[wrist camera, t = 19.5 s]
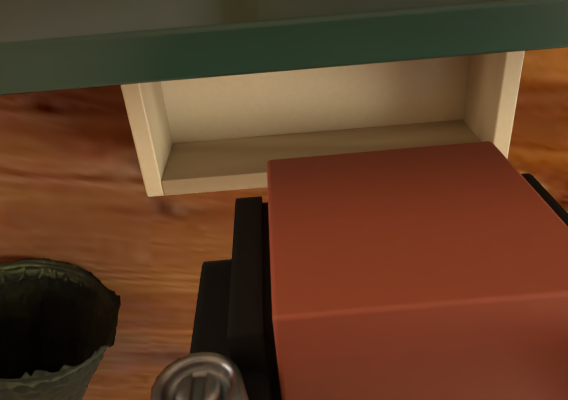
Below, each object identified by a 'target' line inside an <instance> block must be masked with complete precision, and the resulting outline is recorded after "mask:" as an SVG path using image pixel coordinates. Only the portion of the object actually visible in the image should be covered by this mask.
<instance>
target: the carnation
mask: <svg viewBox="0 0 568 400" xmlns="http://www.w3.org/2000/svg"><path fill="white" fill-rule="evenodd" d="M120 305H121V304H120V296H117V295H116V294H115V292H114V291H111V290H109V289H107V288H106V287H105V286H104V285H103V284H102V283H101V282H100V280H98V279H97V278H96V277H95V276H94V275H93V274H92V273H91V272H88V271H86V270H84V269H82V268H80V267H77V266H73V265H71V264H69V263H60V262H53V261H51V260H49V259H47V260H45V261H44V258H43V259H41V260H34V259H33V260H22V261H18V262H14V263H5V264H0V400H82V398H83V396H84V393H85V391H86V388H87V387H88V384H89V381H90V379H91V377H92V375H93V373H94V372H95V371H96V369H97V367H98V365H99V362H100V360H102V358H103V354H104V352H105V350H106V348H107V347H111V346H113V345H114V341H115V335H116V327H117V320H118V311H119V307H120Z"/></svg>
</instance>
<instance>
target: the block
mask: <svg viewBox="0 0 568 400" xmlns="http://www.w3.org/2000/svg"><path fill="white" fill-rule="evenodd" d="M267 185H268V213H269V241H270V270H271V298H272V321H273V330H274V338H275V347H276V356H277V364H278V373H279V381H280V390H281V399H282V400H568V226H567V225H566V224H565V223H564V222H563V221H562V220H561V219H560V217H559V216H558V215H557V214H556V213H555V212H554V211H553V210H552V208H551V207H550V206H549V205H548V204H547V203H546V202H545V201H544V200H543V198H542V197H541V196H540V195H539V194H538V193H537V192H536V191H535V189H534V188H533V187H532V186H531V185H530V184H529V183H528V182H527V181H526V179H525V178H524V177H523V176H522V175H521V174H520V173H519V172H518V170H517V169H516V168H515V167H514V166H513V165H512V164H511V163H510V162H509V160H508V159H507V158H506V157H505V156H504V155H503V154H502V153H501V151H500V150H499V149H498V148H497V147H496V146H495V145H494V144H493V143H492V142H490V141H484V142H472V143H461V144H449V145H438V146H426V147H414V148H403V149H391V150H380V151H368V152H357V153H345V154H333V155H322V156H310V157H299V158H287V159H275V160H269V161H268V162H267Z"/></svg>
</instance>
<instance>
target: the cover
mask: <svg viewBox="0 0 568 400" xmlns="http://www.w3.org/2000/svg"><path fill="white" fill-rule="evenodd" d="M564 47H568V0H0V95H6V94H18V93H30V92H42V91H54V90H66V89H78V88H89V87H101V86H113V85H125V84H137V83H149V82H161V81H172V80H184V79H196V78H208V77H220V76H232V75H243V74H255V73H267V72H279V71H291V70H303V69H315V68H326V67H338V66H350V65H362V64H374V63H386V62H398V61H409V60H421V59H433V58H445V57H457V56H469V55H481V54H492V53H504V52H516V51H528V50H540V49H552V48H564Z"/></svg>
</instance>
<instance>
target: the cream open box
mask: <svg viewBox="0 0 568 400" xmlns="http://www.w3.org/2000/svg"><path fill="white" fill-rule="evenodd" d="M524 52H525V51H516V52H504V53H492V54H481V55H469V56H457V57H445V58H433V59H421V60H409V61H398V62H386V63H374V64H362V65H350V66H338V67H326V68H315V69H303V70H291V71H279V72H267V73H255V74H243V75H232V76H220V77H208V78H196V79H184V80H172V81H161V82H149V83H137V84H125V85H120V86H121V90H122V94H123V98H124V102H125V106H126V111H127V115H128V119H129V123H130V127H131V131H132V135H133V140H134V144H135V148H136V152H137V156H138V160H139V165H140V169H141V173H142V177H143V181H144V185H145V189H146V194H147V196H148V197H150V196H162V195H165V196H166V195H178V194H190V193H201V192H213V191H225V190H237V189H249V188H261V187H268V185H267V162H268V161H269V160H275V159H287V158H299V157H310V156H322V155H333V154H345V153H357V152H368V151H380V150H391V149H403V148H414V147H426V146H438V145H449V144H461V143H472V142H484V141H490V142H492V143H493V144H494V145H495V146H496V147H497V148H498V149H499V150H500V151H501V153H502V154H503V155H504V156H505V157H506V158H507V157H508V151H509V145H510V139H511V133H512V127H513V120H514V114H515V108H516V102H517V96H518V90H519V83H520V77H521V71H522V65H523V59H524Z"/></svg>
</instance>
